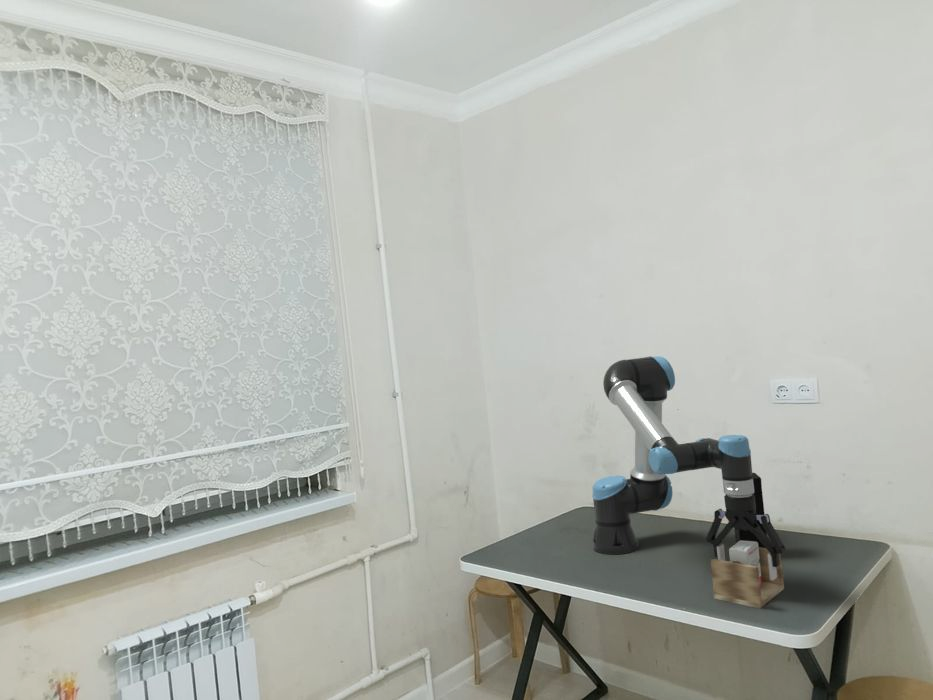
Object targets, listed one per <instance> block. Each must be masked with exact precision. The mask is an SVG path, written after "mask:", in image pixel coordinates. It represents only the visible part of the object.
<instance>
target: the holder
mask: <svg viewBox="0 0 933 700" xmlns="http://www.w3.org/2000/svg"><path fill="white" fill-rule="evenodd" d="M758 548H759V558H760V568H761V578H762V585H761V586H760V580H759V571H758V566H752V565H746V564H740V563H734V562H730V560H729V561H728V560H725V561H723V560H718V558H711V559H710V560H709V561H710V569H711V579H712V588H713V589H712V590H713V598H714V599H716V600H718V601H719V600H720V601H724V602H725V601H726V602H729V603H733V604H738V605H742V606H748V607H752V608H757V609H762V608H763V607H764V606H765V605H767V603H769V602H770V601H771V600H772V599H773V598H775V597H776V596H777V595H778V594H780V593H781V592H782V591H783V590H785V583H784V572H783V564H782V553H781V554H778V555H779V566H778V567H776V569H777V578H776V579H774V580H770V574H769V564H768V554H769V553H770V552H769V551H768V550H767V549H766V548H761V547H758Z"/></svg>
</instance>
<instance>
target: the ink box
mask: <svg viewBox="0 0 933 700" xmlns="http://www.w3.org/2000/svg"><path fill="white" fill-rule="evenodd" d="M728 554H729V562H734V563H740V564H746V565H752V566H758V571H759V580H760V586H761V585H762V578H761V568H760V558H759V548H758V542H754V541H743V540H740V541H739V542H737V543H736V542H735V544H733V545H732V546H731V547H730V548H729V549H728Z"/></svg>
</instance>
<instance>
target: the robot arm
mask: <svg viewBox="0 0 933 700" xmlns="http://www.w3.org/2000/svg"><path fill="white" fill-rule="evenodd" d="M675 384H676V376H675V372H674V369H673V366H672V365H671V363H670V362H669V361H668V359H666V358H665V357H664V356H651V355H650V356H646V357H638V358H632V359H631V358H630V359H621V360H618V361H616V362H614V363H612V364H611V365H610V366H609V367H608V369H607V370H606V372H605V374H604V377H603V391H604V393H605V396H606V398H608V400H609V402H610V403H611V404H612V405H613V406H617V407H618V408H619V410H620V412H621V413H622V415H624V417H625V419H626V420H627V421H628V423H629V424H630V425H631V426H632V429H634V431H635V432H634V441H635V442H634V467H633V468H632V469H631V470H630V473H629V474H630V475H629V476H630V478H626V476H624V475H614V476H613V475H611V476H605V477H602V478H600V479H598V480H596V481H595V482H594V483H593V484H592V499H593V508H594V509H593V510H594V517H595V519H594V520H595V529H594V534H593V539H592V549H593V550H594V551H595V552H597V553H601V554H605V555H622V554H623V555H624V554H628V553H632V552H635V551H637V550H638V549H639V539H638V537H637V536H636V532H635V530H634V528H633V526H632V522H631V515H634V514H639V513H646V512H651V511H653V512H655V511H658V510H661V509H665V508H667V507H668V506H669V505H670V503H671V501H672V499H673V486H672V485H671V484H672V482H671V479H670V477H669V476H667V475H672V474H674V475H675V473H684V472H688V471H689V472H690V471H697V470H702V469H703V470H704V469H707V468H708V469H709V468H716V469H719V470H721V477H722V478H721V479H722V485H723V486H722V487H723V493H724V506H725V510H723V509H722V508H717V510H715V511H714V519H713V521H712V524H711V525H710V526H711V527H710V529H709V531H708V534H707V535H706V538H705V541H706V543H708V544H711V545H713V551H714V552H713V553H714V557H715V558H717V560H723V561H726V554H725V544H723V543H722V542H723V541H724V539H725V538H726V537H727V536H728V535H729V533H730V532H731V531H732V530H733V528H735V529H738V530H739V529H742V530H745V531H747V530H750V532H751V533H753V534H754V535H755V536H756V537H757V538H758V539H759V541H760V542H761V543H762V544H763V545H764V546H765V548H766V549H767V550H768V551H769V552H770V553H769V554H768V564H769V574H770V580H774V579H776V578H777V569H776V567H778V566H779V555H778V554H781V555H782V554H783V553H784V552H785V551H786V549H787V548H786V546H785V544H784V543H783V541H782V540H781V538H780V536H779V534H778V533H777V531H776V529H775V527H774V525H773V524H772V522H771V518H770V514H768V513H764V514H765V515H757V513H756V503H755V496H754V495H753V493H754V484H753V477H752V473H753V467H752V466H753V465H752V453H751V448H750V442H749V438H748V437H747V436H745V435H740V434H739V435H738V434H737V435H736V434H731V435H730V434H729V435H722V436H720V437H719V438H718V440H717V439H715V438H709V437H707V438H704V437H703V438H699V439H697V440H696V441H693V442H685V443H678V442H677V441H676V440H675V438H674V437H673V436H672V434H671V433H670V432H669V430H667V428H666V427H665V426H664V424H663V423H662V422H663V403H664V401H666V400H667V398H668V392H669V391H671V390H673V389H674V386H675ZM724 518H726V520H727V521H728V522H727V524H726V525H725V526H724V528H723V529H722V531H720V533H719V534H718V535H717V533H718V531H719V528H720V525H721V523H722V521H723V519H724ZM757 520H759V521H760V523H761V524H762V525H763V527H764V529H765V531H766V533H767V535H766V534H765V533H764V532H763V531H762V530H761V528H760V526H759V525H758V524H757V523H756V522H757ZM735 529H734V530H735ZM715 537H716V538H715Z"/></svg>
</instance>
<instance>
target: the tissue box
mask: <svg viewBox="0 0 933 700" xmlns="http://www.w3.org/2000/svg"><path fill="white" fill-rule="evenodd" d="M752 477H753V484H754V493H753V495H754V496H755V503H756V513H757V515H765V514H766V513H765V506H764V498H763V497H764V496H763V487H762V485H763V484H762V478H761V476H760V475H758V474H757V473H756V472H752ZM756 523H757V524H758V525H759V526H760V528H761V530H762V531H763V532H764V533H765V534H766V535H767V536H768V534H767V533H766V531H765V529H764V527H763V525H762V524H761V523H760V521H759V520H757V522H756ZM733 528H734V527H733ZM734 537H735V544H736V543H737V542H739V541H740V540H743V541H754V542H758V547H761V548H765V546H764V545H763V544H762V543H761V542H760V541H759V539H758V538H757V537H756V536H755V535H754V534H753V533H751V532H750V530H747V531H745V530H742V529H739V530H738V529H735V528H734Z"/></svg>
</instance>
